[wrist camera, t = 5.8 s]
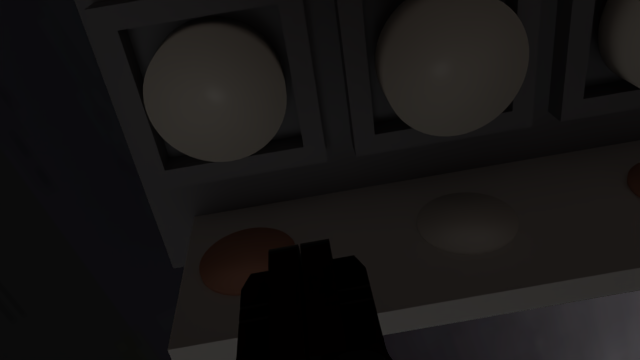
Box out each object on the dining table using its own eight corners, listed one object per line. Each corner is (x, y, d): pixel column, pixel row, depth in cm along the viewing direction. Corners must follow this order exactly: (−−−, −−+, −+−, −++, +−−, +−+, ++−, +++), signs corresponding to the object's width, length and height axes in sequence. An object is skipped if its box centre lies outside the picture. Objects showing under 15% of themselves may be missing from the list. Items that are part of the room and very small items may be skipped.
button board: (735, -157, 24) (1096, -181, 14) (667, 152, 32) (860, 284, 22) (82, -48, 24) (-58, 13, 13) (180, 236, 32) (141, 410, 21)
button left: (271, 6, 23) (272, 16, 21) (294, 131, 26) (297, 149, 24) (133, 29, 23) (123, 41, 21) (173, 152, 26) (166, 172, 24)
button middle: (512, -29, 22) (533, -20, 20) (506, 106, 25) (524, 123, 23) (368, -4, 22) (377, 6, 20) (380, 128, 25) (389, 147, 23)
